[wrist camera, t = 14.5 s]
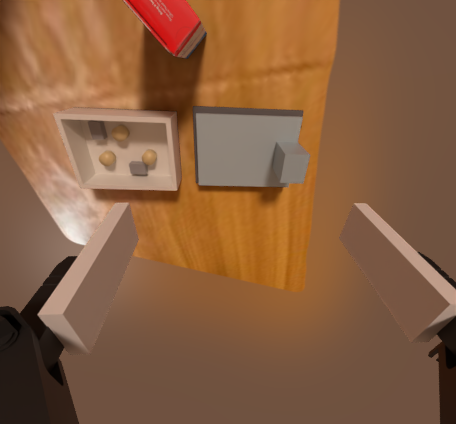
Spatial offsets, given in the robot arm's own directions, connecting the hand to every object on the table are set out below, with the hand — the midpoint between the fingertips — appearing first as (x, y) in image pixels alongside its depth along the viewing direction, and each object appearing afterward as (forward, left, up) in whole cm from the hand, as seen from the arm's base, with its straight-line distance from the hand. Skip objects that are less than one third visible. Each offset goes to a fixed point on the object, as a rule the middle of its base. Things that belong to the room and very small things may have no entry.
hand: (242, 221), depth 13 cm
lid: (+4, -6, -32) cm, 33 cm away
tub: (-18, -6, -33) cm, 38 cm away
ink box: (-8, +13, -33) cm, 37 cm away
